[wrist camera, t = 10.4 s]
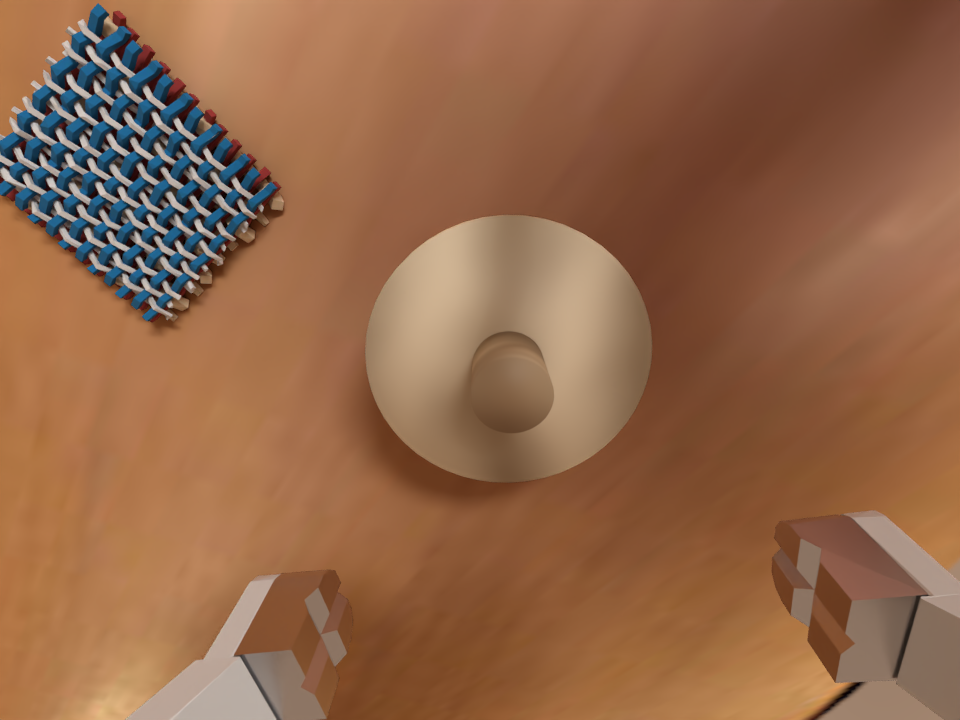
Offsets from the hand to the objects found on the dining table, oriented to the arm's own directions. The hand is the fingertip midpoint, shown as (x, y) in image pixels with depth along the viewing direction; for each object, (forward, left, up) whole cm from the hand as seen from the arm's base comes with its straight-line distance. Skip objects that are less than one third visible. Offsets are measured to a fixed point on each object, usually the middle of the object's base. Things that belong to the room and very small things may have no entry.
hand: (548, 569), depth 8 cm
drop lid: (0, 0, -12) cm, 12 cm away
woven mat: (+16, -10, -18) cm, 26 cm away
